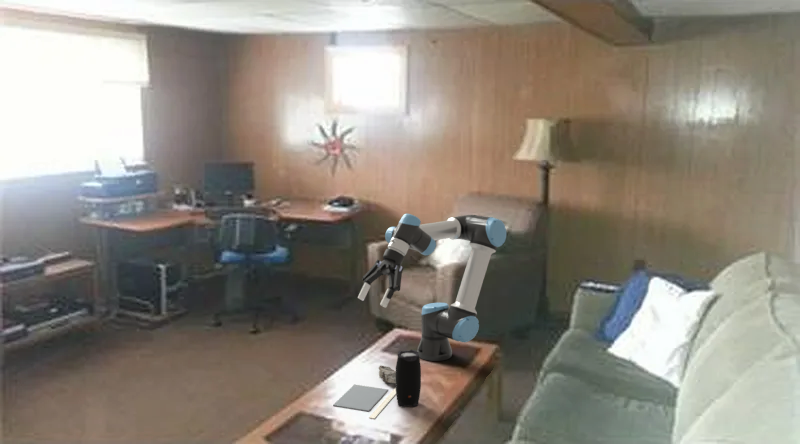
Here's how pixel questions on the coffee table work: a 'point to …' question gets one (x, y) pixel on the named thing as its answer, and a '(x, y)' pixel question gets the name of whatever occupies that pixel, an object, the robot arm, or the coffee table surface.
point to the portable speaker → (408, 378)
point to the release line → (383, 404)
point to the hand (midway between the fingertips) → (371, 302)
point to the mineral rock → (387, 374)
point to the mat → (361, 397)
